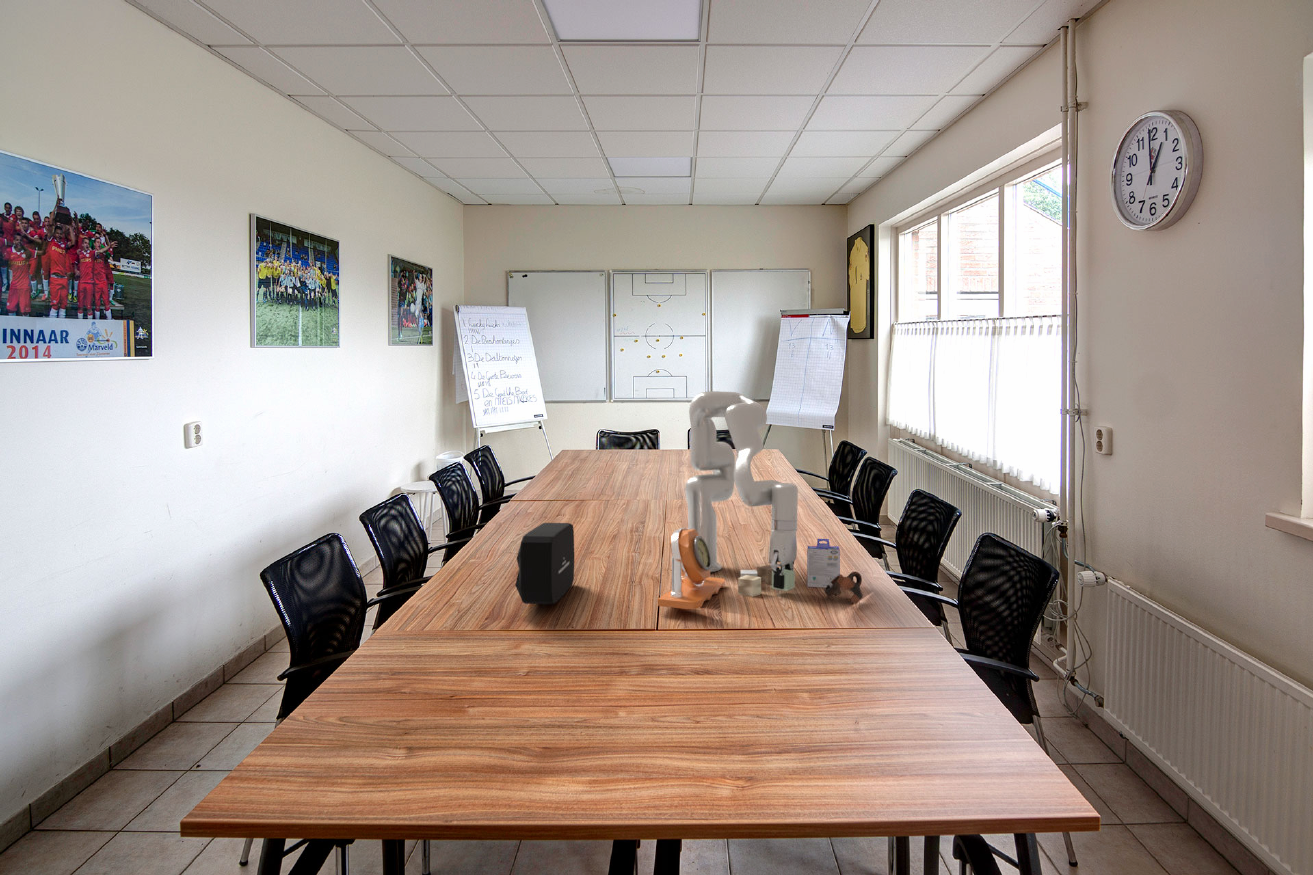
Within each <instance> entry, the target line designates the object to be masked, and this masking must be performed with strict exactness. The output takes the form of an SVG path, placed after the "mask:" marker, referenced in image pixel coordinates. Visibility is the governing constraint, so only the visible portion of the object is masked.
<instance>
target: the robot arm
mask: <svg viewBox="0 0 1313 875" xmlns="http://www.w3.org/2000/svg"><path fill="white" fill-rule="evenodd" d="M688 413H689V414H688V416H689V422H690V454H689V455H690V465H691V467H692V468H693V469H694V470H695V471H696V470H697V471H699V472H700V471H703V472H704V471H712V473H710V474H709V473H706V474H698V475H697V474H696V475H694V476H691V477H690V478H689V479H688V480H687V481H686V483H685V485H684V486H685V487H684V492H685V498H686V499H685V500H686V504H687V520H688V521H687V523H688V526H687V529H688V530H689V529H695V530H696V531H697V532H698V534H699V535H700V536H701V537H702V538H703V539H704V540H705V542H706V544H707V546H708V548H709V551H710V555H711V569H710V573H713V572H718V571H720V570H721V569H722V564H720V563H718V560H717V558H718V557H717V556H718V555H717V554H718V552H717V546H718V544H717V537H718V536H717V529H718V528H717V526H718V525H717V522H718V521H717V520H718V519H717V514H716V511H715V508H714V506H713V504H712V503H717V502H719V503H720V502H722V501H723V502H725V501H727V500H729V499H730V498H731V497H732V496H733V493H734V490H735V487H736V490H737V492H738V495H739V497H740V499H741V501H742V502H743V503H744V504H745V505H746V506H748V507H752V508H753V507H761V506H762V507H763V506H771V518H770V519H771V528H770V529H771V531H770V532H771V533H770V536H769V546H768V558H767V559H768V563H769V565H770V566H771V568H772V570H773V574H774V583H773V587H774V588H779V589H784V575H783V571H784V569H786V570H792V571H795V570H794V565H795V561H796V560H797V553H798V548H797V547H798V546H797V542H798V541H797V531H798V500H799V499H798V498H799V497H798V496H799V494H798V493H799V490H798V486H797V485H796V484H795V483H789V482H781V481H778V480H775V479H774V480H773V479H768V480H754V479H755V478H754V475H753V473H752V469H751V463H752V460H753V458H754V457H755V456H756V455H758V454H760V453H761V451H763V449H764V443H763V441H762V438H761V436H760V433H759V430H761V429H762V428H764V427H765V425H767V420H768V415H767V411H766V409H765V408H764V406H763V405H761V404H760V403H759V402H757V401H755V400H753V399H752V398H750V397H748V396H746V395H744V394H741V393H739V392H736V391H720V390H719V391H718V390H717V391H715V390H714V391H702V392H700V393H697V394H696V395H695V396H694V397H693V398H692V400H691V401H690V403H689V410H688ZM712 418H724V419H725V423H726V426H727V428H728V431H729V432H728V433H729V435H730V438H731V440H732V443H733V446H734V449H735V451H736V457H735V453H734V450H733V448H732V446H731V445H730V444H729V443H727V442H725V441H717V427H716V425H715V422H714V421H713V419H712ZM779 568H780V569H779Z"/></svg>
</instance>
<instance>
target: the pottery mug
mask: <svg viewBox="0 0 1313 875" xmlns="http://www.w3.org/2000/svg"><path fill="white" fill-rule="evenodd" d="M854 578H855V579H856V581H854ZM862 580H863V578H862V576H861V573H859V572H858V571H852V572H850V573H849V574H848V575H847V576H843V575H842V574H841V573H840V575H838V576H837V577H835V578H834V579H833V580H832V581H831V583H832V584H833V585H832V586H831V587H830V586H829V585H827V587H824V590H823V592H824V594H826V599H828V600H829V599H830V600H831V601H833V600H834V598H833V596H834V597H838V596H840V595H842V591H841V587H842V588H843V589H844V590H846V591H850V592H852V594H853V595H852V596H851V598H850V601H851V602H852V603H853V604H854V605H855V606H856V605H857V604H858V603H859V602H860V601H861V599H863V596H864V594H863V593H862V591H861V585H862V582H863V581H862Z"/></svg>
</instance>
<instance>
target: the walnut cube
mask: <svg viewBox="0 0 1313 875" xmlns="http://www.w3.org/2000/svg"><path fill="white" fill-rule="evenodd" d="M770 565H771V564H767V565H760V566H757V567H756V570H757V577H761V583H763V582H764V584H765V585H770V584H771V585H772V571H773V570H772V568H771V566H770Z"/></svg>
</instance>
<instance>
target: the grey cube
mask: <svg viewBox="0 0 1313 875" xmlns="http://www.w3.org/2000/svg"><path fill="white" fill-rule="evenodd" d="M745 575H749V576H756V577H757V569H741V570H740V577H743V576H745Z"/></svg>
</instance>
